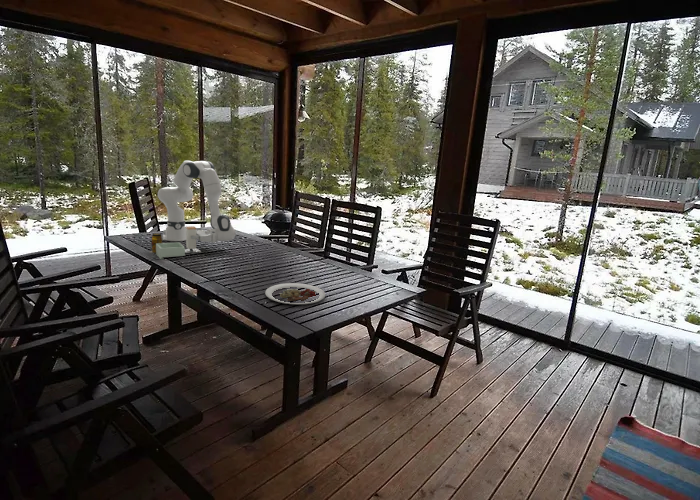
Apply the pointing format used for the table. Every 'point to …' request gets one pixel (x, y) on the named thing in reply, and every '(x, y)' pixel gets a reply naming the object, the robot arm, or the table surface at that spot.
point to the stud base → (192, 250)
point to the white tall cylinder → (190, 232)
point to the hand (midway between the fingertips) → (189, 236)
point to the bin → (169, 250)
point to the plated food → (295, 292)
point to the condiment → (155, 241)
